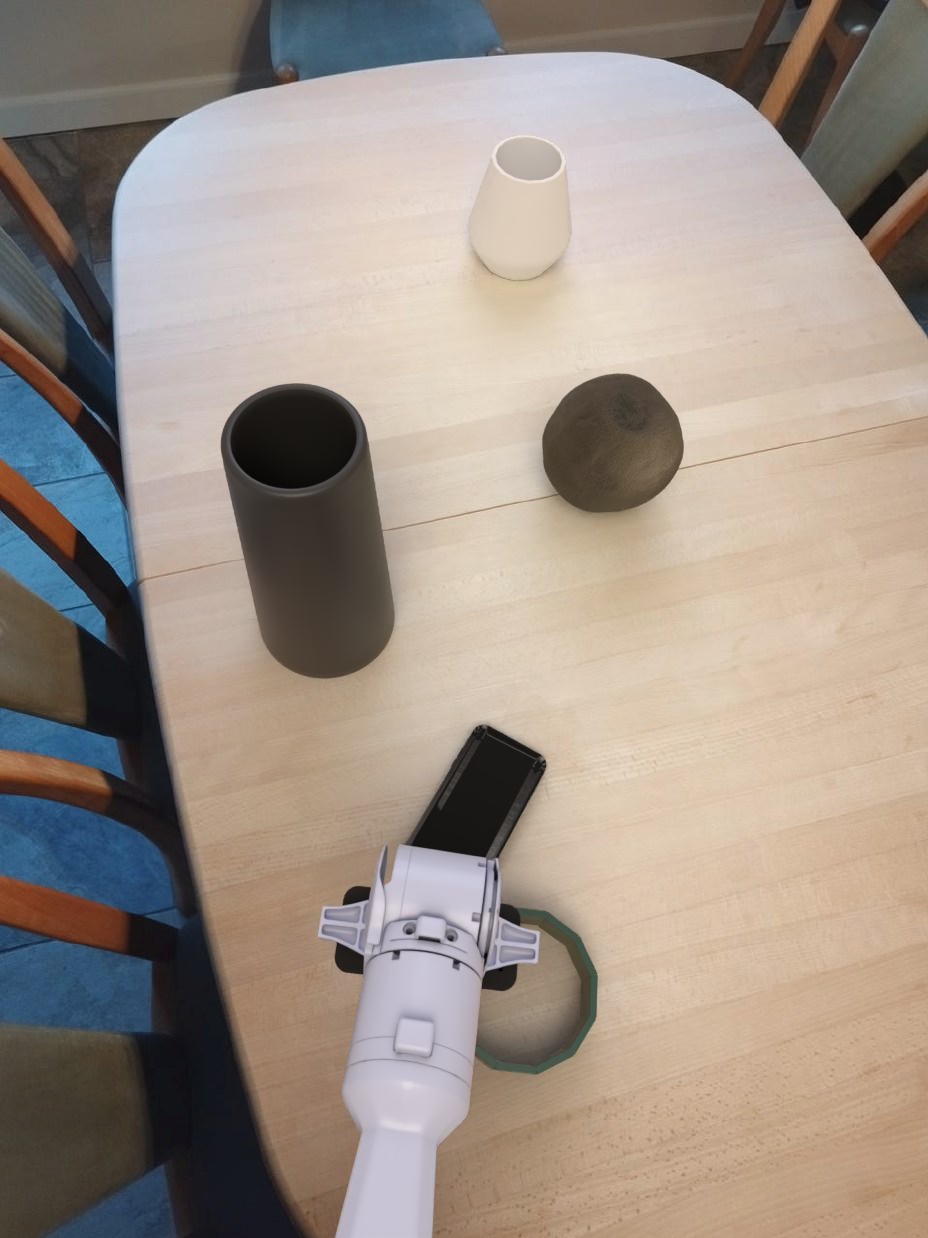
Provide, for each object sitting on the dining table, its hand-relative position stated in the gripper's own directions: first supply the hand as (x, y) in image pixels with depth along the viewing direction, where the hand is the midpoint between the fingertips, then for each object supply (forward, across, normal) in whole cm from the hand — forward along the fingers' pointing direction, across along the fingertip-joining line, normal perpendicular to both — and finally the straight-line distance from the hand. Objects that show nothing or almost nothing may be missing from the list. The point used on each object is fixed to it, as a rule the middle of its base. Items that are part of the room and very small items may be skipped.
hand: (427, 946), depth 65 cm
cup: (+13, -1, -87) cm, 88 cm away
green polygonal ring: (+10, -8, +2) cm, 13 cm away
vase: (+11, +14, -31) cm, 36 cm away
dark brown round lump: (+12, -13, -51) cm, 54 cm away
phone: (+11, -3, -13) cm, 17 cm away
